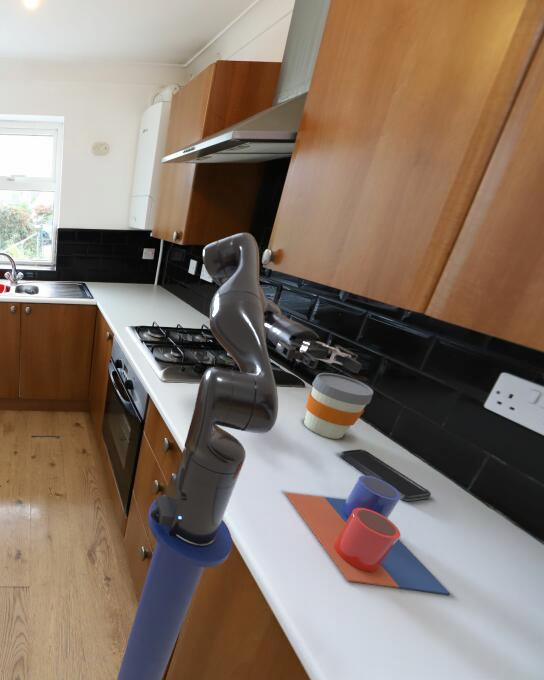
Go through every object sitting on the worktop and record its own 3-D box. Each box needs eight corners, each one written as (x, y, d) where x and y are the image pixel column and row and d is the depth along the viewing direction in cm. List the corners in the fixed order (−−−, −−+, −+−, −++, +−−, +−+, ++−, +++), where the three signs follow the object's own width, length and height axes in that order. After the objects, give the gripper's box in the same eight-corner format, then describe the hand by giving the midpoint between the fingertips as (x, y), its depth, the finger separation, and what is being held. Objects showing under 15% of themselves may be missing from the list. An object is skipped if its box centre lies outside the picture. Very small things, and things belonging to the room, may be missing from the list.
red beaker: (349, 570, 61) (371, 535, 58) (326, 538, 67) (344, 505, 63) (387, 575, 61) (411, 540, 57) (360, 542, 66) (380, 509, 63)
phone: (363, 448, 91) (434, 494, 78) (361, 452, 92) (431, 497, 78) (339, 451, 90) (407, 498, 76) (337, 455, 90) (405, 502, 77)
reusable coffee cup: (360, 437, 98) (385, 391, 92) (333, 446, 93) (357, 399, 88) (313, 412, 109) (333, 370, 103) (287, 419, 104) (305, 375, 98)
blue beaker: (356, 529, 69) (375, 497, 66) (334, 504, 75) (351, 473, 71) (389, 533, 69) (410, 501, 65) (365, 507, 74) (383, 477, 71)
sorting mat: (348, 581, 60) (349, 579, 59) (285, 493, 77) (286, 492, 77) (449, 595, 58) (450, 593, 58) (362, 503, 76) (363, 501, 76)
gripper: (267, 321, 87) (308, 347, 72) (327, 326, 86) (381, 354, 71) (257, 348, 90) (295, 379, 75) (316, 353, 89) (365, 386, 74)
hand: (337, 366), depth 73 cm, fingers open, 8 cm apart
